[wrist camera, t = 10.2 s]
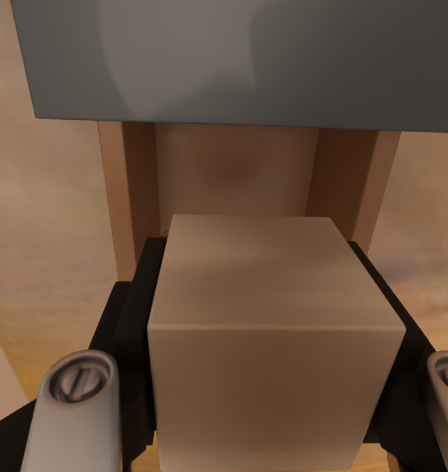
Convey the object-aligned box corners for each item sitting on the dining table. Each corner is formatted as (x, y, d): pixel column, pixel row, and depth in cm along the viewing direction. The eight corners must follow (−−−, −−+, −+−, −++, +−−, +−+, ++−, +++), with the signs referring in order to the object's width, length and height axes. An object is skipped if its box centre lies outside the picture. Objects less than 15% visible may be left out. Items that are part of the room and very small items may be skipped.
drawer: (305, 310, 25) (340, 411, 18) (145, 308, 25) (119, 410, 18) (363, 20, 16) (471, 1, 10) (118, 8, 16) (45, -20, 9)
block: (330, 216, 10) (409, 328, 6) (306, 332, 12) (353, 472, 8) (172, 213, 9) (145, 327, 6) (176, 331, 12) (159, 474, 8)
